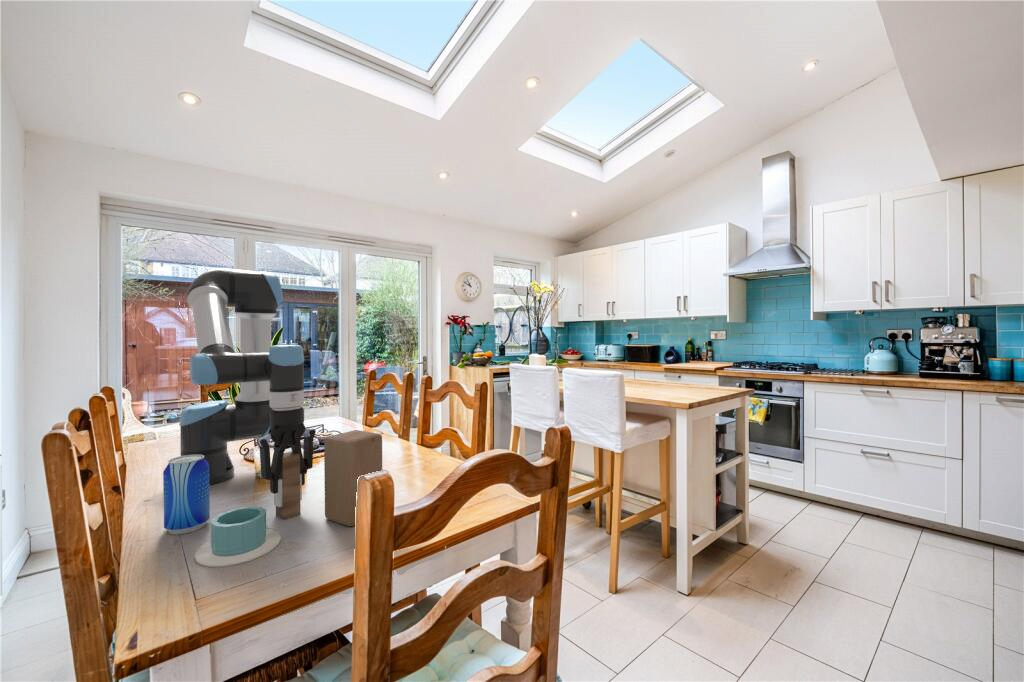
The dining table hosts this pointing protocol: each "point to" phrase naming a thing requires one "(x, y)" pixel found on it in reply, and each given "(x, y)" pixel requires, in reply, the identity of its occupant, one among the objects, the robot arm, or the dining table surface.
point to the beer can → (186, 494)
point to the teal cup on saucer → (237, 538)
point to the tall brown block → (290, 486)
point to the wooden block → (348, 471)
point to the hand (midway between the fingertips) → (288, 502)
